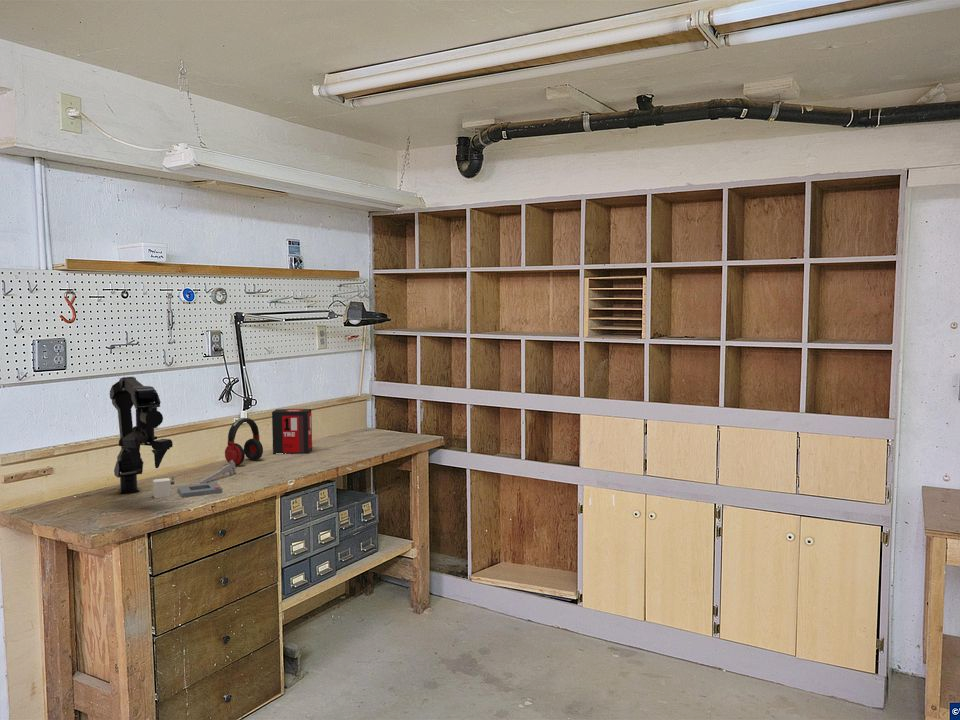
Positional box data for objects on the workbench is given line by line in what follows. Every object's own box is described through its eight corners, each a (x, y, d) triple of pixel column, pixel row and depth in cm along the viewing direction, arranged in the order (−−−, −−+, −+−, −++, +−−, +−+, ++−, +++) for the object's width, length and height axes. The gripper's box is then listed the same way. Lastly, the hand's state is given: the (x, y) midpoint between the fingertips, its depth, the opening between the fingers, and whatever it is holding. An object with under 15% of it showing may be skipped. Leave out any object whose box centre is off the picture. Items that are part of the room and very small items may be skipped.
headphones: (239, 468, 310) (238, 421, 309) (221, 466, 314) (220, 420, 313) (266, 459, 326) (265, 416, 325) (248, 458, 330) (247, 414, 329)
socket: (177, 490, 272) (177, 484, 272) (216, 485, 279) (216, 480, 279) (182, 497, 262) (181, 491, 262) (222, 492, 269) (222, 486, 269)
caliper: (233, 474, 299) (233, 459, 299) (235, 474, 299) (235, 459, 299) (196, 485, 281) (196, 469, 280) (199, 485, 280) (198, 469, 280)
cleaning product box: (273, 454, 339) (271, 411, 338) (277, 450, 348) (276, 409, 347) (308, 453, 340) (307, 411, 338) (312, 450, 349) (311, 408, 347)
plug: (153, 495, 265) (152, 479, 264) (173, 493, 268) (173, 477, 268) (154, 498, 261) (153, 482, 261) (175, 496, 264) (174, 479, 264)
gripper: (105, 425, 248) (107, 469, 250) (149, 428, 242) (150, 474, 244) (130, 419, 259) (131, 462, 260) (173, 423, 253) (174, 467, 254)
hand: (146, 466), depth 254 cm, fingers open, 9 cm apart
